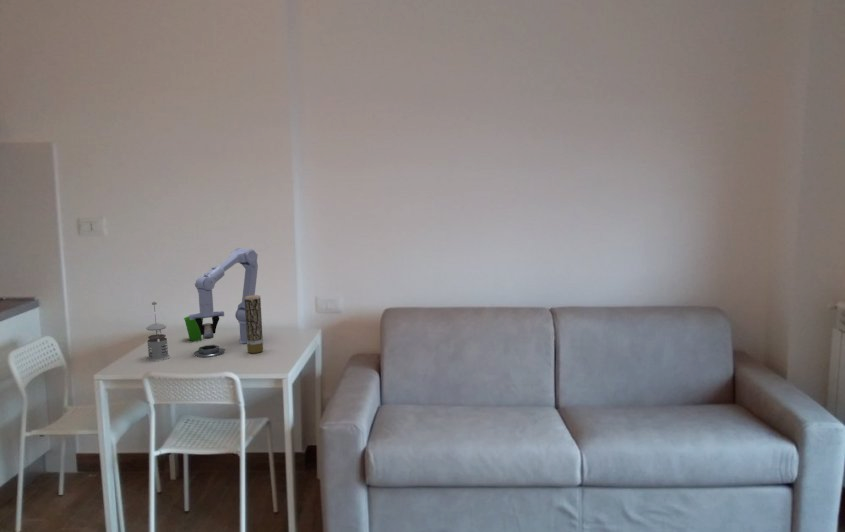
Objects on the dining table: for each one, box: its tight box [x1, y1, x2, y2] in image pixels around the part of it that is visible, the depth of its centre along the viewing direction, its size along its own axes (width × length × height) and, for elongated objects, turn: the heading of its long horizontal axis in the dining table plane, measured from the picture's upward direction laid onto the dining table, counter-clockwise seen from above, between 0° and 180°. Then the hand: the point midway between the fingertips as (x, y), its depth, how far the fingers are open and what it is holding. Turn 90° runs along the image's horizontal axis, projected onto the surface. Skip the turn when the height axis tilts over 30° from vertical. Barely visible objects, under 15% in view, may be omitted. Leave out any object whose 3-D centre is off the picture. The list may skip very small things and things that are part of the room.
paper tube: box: [245, 294, 264, 354], centre depth 283 cm, size 7×7×25 cm
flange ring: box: [193, 344, 226, 358], centre depth 284 cm, size 13×13×2 cm
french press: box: [145, 301, 171, 362], centre depth 276 cm, size 10×12×25 cm
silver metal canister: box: [202, 322, 215, 340], centre depth 282 cm, size 5×5×6 cm
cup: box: [183, 315, 204, 342], centre depth 305 cm, size 9×9×11 cm
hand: (208, 333), depth 282 cm, fingers closed on silver metal canister, 5 cm apart
